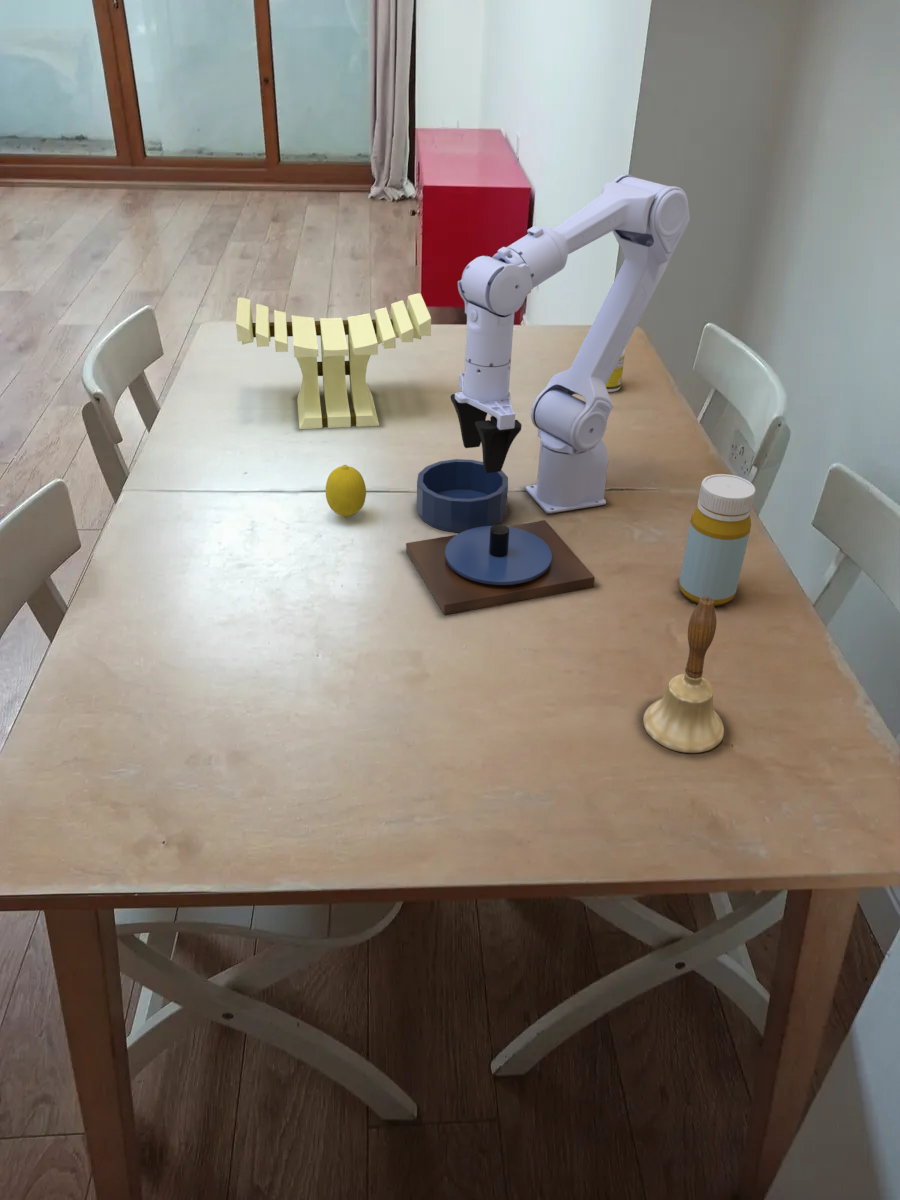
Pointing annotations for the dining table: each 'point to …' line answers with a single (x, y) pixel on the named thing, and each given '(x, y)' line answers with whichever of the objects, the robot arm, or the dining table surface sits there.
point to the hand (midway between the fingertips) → (482, 458)
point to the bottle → (717, 539)
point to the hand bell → (689, 695)
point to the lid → (498, 555)
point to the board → (469, 594)
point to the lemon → (345, 491)
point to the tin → (461, 495)
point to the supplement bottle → (616, 376)
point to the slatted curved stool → (335, 354)
